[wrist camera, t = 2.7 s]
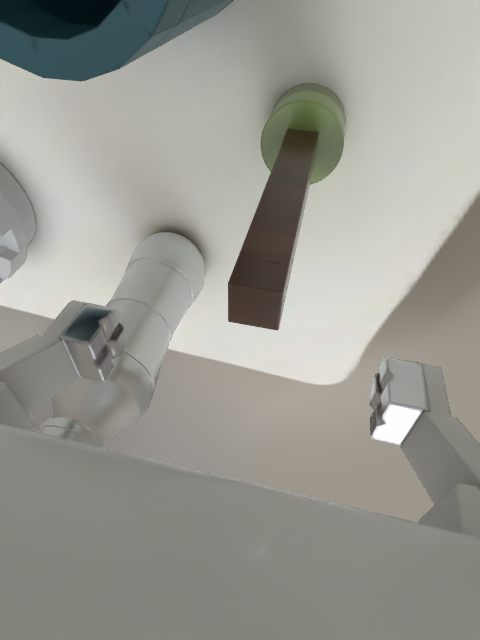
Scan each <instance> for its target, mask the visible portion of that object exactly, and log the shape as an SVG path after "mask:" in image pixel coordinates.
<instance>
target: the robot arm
mask: <svg viewBox="0 0 480 640" xmlns="http://www.w3.org/2000/svg"><path fill="white" fill-rule="evenodd" d="M121 318H122V316H121V313H120V310H118V309H115V308H110V307H105V306H100V305H96V304H91V303H85V302H80V301H75V300H73V301H71V302H69V303H68V304H67V305H66V307H65V308H64V309H63V310H62V312H61V313H60V314H59V315H58V316H57V318H56V319H55V320H54V321H53V323H52V324H51V325H50V326H49V328H48V329H47V330H46V331H45V332H44V334H43V335H42V336H41V335H36V336H34V337H32V338H30V339H28V340H26V341H24V342H22V343H20V344H18V345H16V346H14V347H12V348H10V349H8V350H5V351H3V352H1V353H0V640H480V444H479V443H478V441H477V440H476V439H475V438H474V437H473V436H472V435H471V433H470V432H469V431H468V430H467V429H466V428H465V426H464V425H463V424H462V423H461V422H460V421H459V420H458V418H455V417H451V412H450V407H449V402H448V397H447V392H446V386H445V382H444V377H443V371H442V369H441V367H439V366H433V365H427V364H422V363H421V364H420V363H417V362H411V361H405V360H400V359H394V358H388V357H384V358H383V359H382V361H381V363H380V372H379V373H377V374H375V376H374V379H373V381H372V386H371V390H370V405H371V407H372V408H373V409H374V411H373V413H372V415H371V417H370V435H371V438H372V439H377V440H381V441H385V442H389V443H393V444H398V445H401V446H400V447H401V449H402V450H403V452H404V454H405V455H406V457H407V459H408V461H409V462H410V464H411V466H412V467H413V469H414V471H415V472H416V474H417V476H418V477H419V479H420V481H421V483H422V484H423V486H424V488H425V489H426V491H427V493H428V495H429V496H430V498H431V500H432V501H433V503H434V506H433V507H432V508H431V509H430V510H429V511H428V512H427V513H426V514H425V515H424V516H422V517H421V518H420V520H419V523H418V522H413V521H409V520H405V519H401V518H397V517H392V516H388V515H384V514H380V513H375V512H371V511H367V510H363V509H359V508H354V507H350V506H346V505H342V504H338V503H333V502H329V501H325V500H321V499H317V498H313V497H308V496H304V495H300V494H296V493H292V492H287V491H283V490H279V489H275V488H270V487H266V486H262V485H258V484H254V483H250V482H246V481H241V480H237V479H233V478H229V477H225V476H220V475H216V474H212V473H207V472H203V471H199V470H195V469H191V468H187V467H182V466H178V465H174V464H170V463H166V462H161V461H157V460H153V459H149V458H145V457H140V456H136V455H131V454H128V453H124V452H119V451H115V450H111V449H106V448H103V447H98V446H94V445H90V444H86V443H82V442H77V441H73V440H69V439H65V438H60V437H56V436H52V435H48V434H44V433H39V432H36V425H35V424H34V423H33V421H32V420H31V419H30V417H29V416H28V415H30V414H31V413H33V412H34V411H35V410H37V409H38V408H40V407H41V406H42V405H44V404H45V403H46V402H48V401H49V400H51V399H52V398H54V397H55V396H56V395H58V394H59V393H60V392H62V391H63V390H65V389H66V388H67V387H69V386H70V385H72V384H73V383H74V382H76V381H77V380H79V379H80V378H79V377H81V378H86V379H92V380H97V381H103V382H104V381H105V380H106V378H107V376H108V375H109V373H110V371H111V370H112V368H113V366H114V364H113V360H112V359H114V358H116V357H117V356H119V355H120V354H121V352H122V351H123V349H124V346H125V342H126V330H125V327H124V326H123V325H122V324H121V323H120V320H121Z"/></svg>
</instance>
